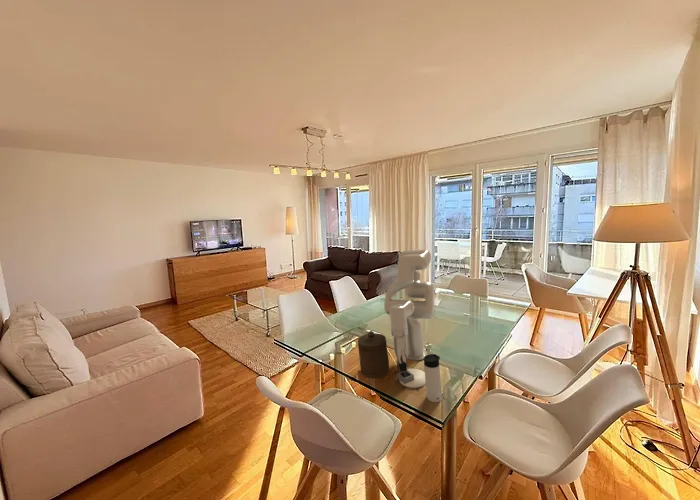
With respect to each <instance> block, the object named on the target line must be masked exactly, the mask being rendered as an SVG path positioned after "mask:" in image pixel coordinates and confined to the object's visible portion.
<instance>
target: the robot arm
mask: <svg viewBox="0 0 700 500" xmlns="http://www.w3.org/2000/svg"><path fill="white" fill-rule="evenodd" d="M431 255H432V254H431V252H430V251H429V250H428V249H409V250H408V249H407V250H404V251H403V250H402V251H401V252H400V253H399V260H398V267H397V275H396V280H395V281H394V282H393V283H392V284H391V285H390V286H389V288H388V289H387V291H386V293H385V298H384V307H383V308H384V312H385V313H386V314H387V315H389V318H390V319H389V321H390V330H391V331H390V332H391V336H392V337H393V351H394V355H395V356H396V358H398V359H399V358H400V363H399V362H398V361H397V365H398V368H399V371H400V372H402V371H407V369H408V367H407V366H408V365H407V358H408V360H409V359H410V360H409V361H422V360H424V357H425V356H426V355H428V352H427V350H425V348H424V337H423V325H422V323H421V321H420V320H422V319H424V320H430V319H433V318H434V314H435V289H434V288H435V287H434V285H433V283H432V282H430V281H421V272H420V271H424V270H427V269H428V267H429V265H430V263H431V260H432V258H431V257H432V256H431ZM402 290H404V295H405V297H406V298H408V299H394V296H395V295H396V294H397V293H399V292H400V291H402ZM411 299H412V300H411ZM414 299H415V300H414ZM417 299H418V300H417ZM419 299H422V300H419ZM401 358H402V359H401ZM398 359H397V360H398Z"/></svg>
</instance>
